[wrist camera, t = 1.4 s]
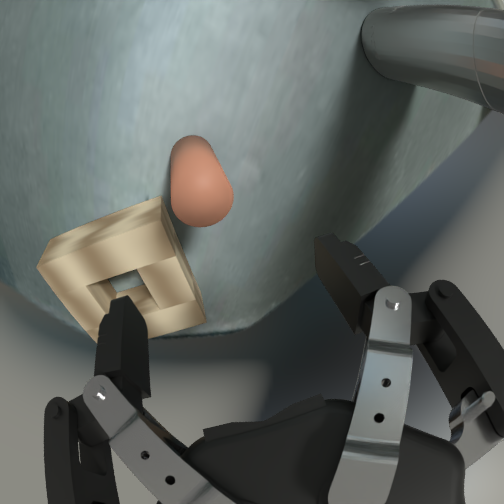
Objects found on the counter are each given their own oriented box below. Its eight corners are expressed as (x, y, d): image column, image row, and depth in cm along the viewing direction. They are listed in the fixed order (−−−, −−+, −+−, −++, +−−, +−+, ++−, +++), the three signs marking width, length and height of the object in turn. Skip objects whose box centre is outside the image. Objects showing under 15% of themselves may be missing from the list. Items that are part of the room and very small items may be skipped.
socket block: (161, 195, 27) (160, 220, 23) (201, 292, 36) (206, 322, 32) (50, 239, 26) (36, 267, 22) (106, 320, 35) (103, 349, 31)
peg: (207, 130, 25) (225, 162, 17) (216, 168, 27) (239, 216, 19) (165, 142, 24) (162, 181, 16) (177, 180, 27) (182, 234, 19)
